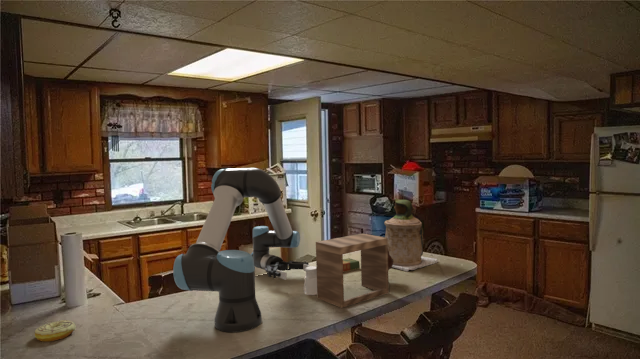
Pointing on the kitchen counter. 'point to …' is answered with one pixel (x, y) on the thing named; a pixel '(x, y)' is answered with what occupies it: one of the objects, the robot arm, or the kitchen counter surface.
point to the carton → (350, 264)
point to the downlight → (310, 281)
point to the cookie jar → (406, 238)
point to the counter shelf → (332, 267)
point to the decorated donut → (54, 330)
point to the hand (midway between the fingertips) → (299, 273)
